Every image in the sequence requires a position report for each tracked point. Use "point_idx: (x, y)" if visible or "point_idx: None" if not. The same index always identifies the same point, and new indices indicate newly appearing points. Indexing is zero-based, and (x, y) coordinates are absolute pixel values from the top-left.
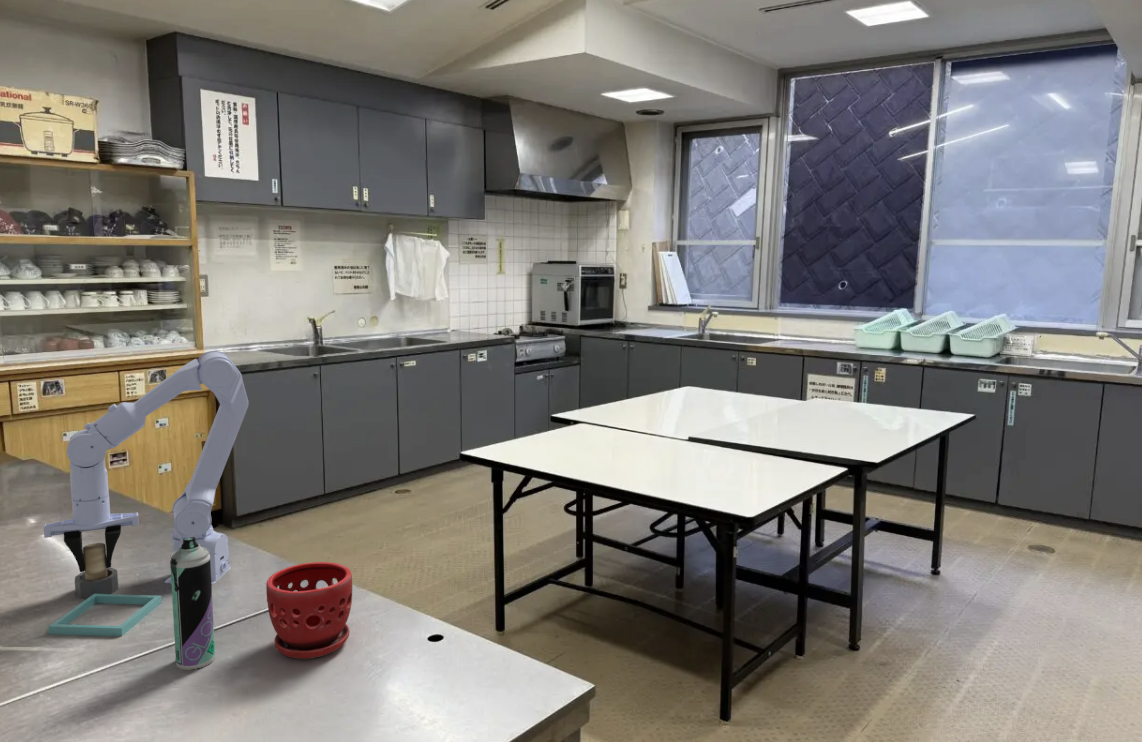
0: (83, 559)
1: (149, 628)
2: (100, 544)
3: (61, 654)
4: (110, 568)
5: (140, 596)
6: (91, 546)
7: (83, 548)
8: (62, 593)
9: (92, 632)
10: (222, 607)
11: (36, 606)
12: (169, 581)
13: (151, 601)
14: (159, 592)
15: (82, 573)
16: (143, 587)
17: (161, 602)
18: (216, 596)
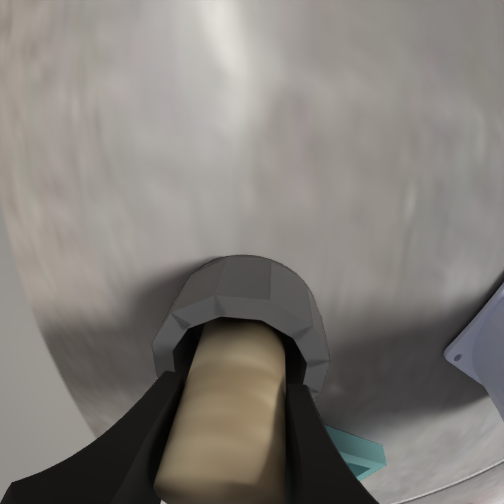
0: (169, 427)
1: None
2: (256, 498)
3: None
4: (305, 330)
5: (347, 459)
6: (201, 497)
7: (159, 494)
8: (127, 256)
9: None
10: (450, 464)
11: (79, 318)
12: (457, 353)
13: (358, 478)
14: (410, 389)
15: (177, 324)
16: (390, 342)
17: (383, 450)
18: (473, 432)
